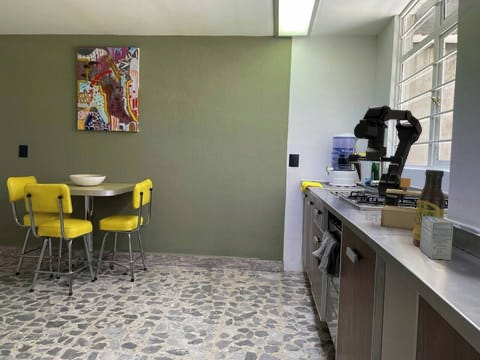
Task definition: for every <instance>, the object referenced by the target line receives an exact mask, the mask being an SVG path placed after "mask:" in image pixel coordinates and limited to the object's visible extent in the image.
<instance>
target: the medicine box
mask: <svg viewBox="0 0 480 360" xmlns="http://www.w3.org/2000/svg"><path fill="white" fill-rule="evenodd" d="M453 236H454V222H451V221H450V220H448V219H446V218H444V217H443V218H441V217H434V216H423V217H422V224H421V238H420V246H419V250H420V251H421V252H422V253H424V255H426V256H427V257H428V258H429V257H430V258H429V259H432V260H438V259H443V260H442V261H449V260H450V261H451V260H452V250H453V249H452V247H453Z"/></svg>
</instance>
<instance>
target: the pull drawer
mask: <svg viewBox="0 0 480 360" xmlns="http://www.w3.org/2000/svg"><path fill="white" fill-rule="evenodd" d="M411 179H412V178H406V177H401V184H400V187H403V190H394V189H387V190H386V192H388V193H400V194H406V195H411V196H420V194H421V192H422V191H419V190H418V191H417V190H408V188H409V189H410V187H411Z"/></svg>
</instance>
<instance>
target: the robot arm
mask: <svg viewBox="0 0 480 360" xmlns="http://www.w3.org/2000/svg"><path fill="white" fill-rule="evenodd" d="M390 120H393V121H396V124H395V130H396V133H397V135H396V136H397V138H398V144H397V147H396V150H395V153H394V155H390V157H389V156H387V149H388V148H387V146H385V135H386V129H389V126H388V125H387V124H386V122H388V121H390ZM358 121H359V123H357V124H356V125H355V126H354V128H353V135H354V136H355V138H357V139H360V140H367V147H366V149H365V156H364V155H363V156H362V155H361V154H351V153H349V154H348V155H347V162H350V164H351V165H353V166H354V168H355V170H356V173H357V177H358V181H359V182H362V162H379V163H381V162H382V163H383V162H384V163H385V162H386V163H389V164H388V167H387V172H386V173H382V174H381V175H380V179H379V181H378V184H377V192H378V197H379V198H383V205H382V208H383V207H384V206H385V205H386V206H397V207H400V200H403V201H404V200H405V199H406V195H407V194H400V193H388V192H386V190H387V189H394V190H403V187H400V184H401V178H402V175H403V172H404V169H405V165H406V162H407V160H408V156H409V154H410V151H411V149H412V146H413V144H416V142H417V141H419V139H420V137H421V135H422V133H423V128H422V125H421V122H420V120H419V119H418V118H417V117H415V116H414V115H413V113H412V111H411V110H408V109H392V107H391V106H388V105H375V106H368V109H367V110H366V112H365V114H364V115H363V118H362V119H359V120H358ZM401 121H402V122H403V121H407V122H408V123H403V124H402V122H401Z"/></svg>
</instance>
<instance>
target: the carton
mask: <svg viewBox="0 0 480 360" xmlns="http://www.w3.org/2000/svg"><path fill="white" fill-rule="evenodd" d="M416 208H417V207H416ZM416 208H415V207H408V206H406V207H404V206H399V207H397V206H386V205H385V206H384V207H383V206H382V208H381V212H380V227H384V228H385V227H386V228H393V229H401V230H409V231H414V224H415V216H416Z"/></svg>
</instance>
